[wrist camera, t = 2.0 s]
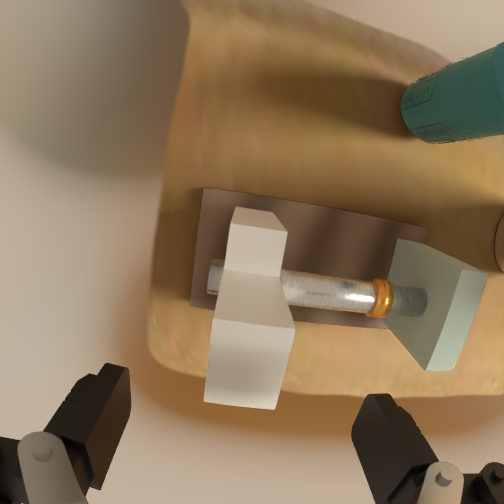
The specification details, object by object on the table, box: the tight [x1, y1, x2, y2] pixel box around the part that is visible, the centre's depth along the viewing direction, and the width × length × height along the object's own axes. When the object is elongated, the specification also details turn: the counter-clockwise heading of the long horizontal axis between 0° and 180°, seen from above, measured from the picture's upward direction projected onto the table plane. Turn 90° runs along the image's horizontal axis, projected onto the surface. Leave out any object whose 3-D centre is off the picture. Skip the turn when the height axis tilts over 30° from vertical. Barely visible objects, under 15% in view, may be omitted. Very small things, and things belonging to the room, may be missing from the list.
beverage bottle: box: [401, 42, 504, 144], centre depth 17 cm, size 6×7×20 cm
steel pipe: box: [207, 259, 428, 318], centre depth 22 cm, size 18×3×3 cm, turn 81°
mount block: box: [380, 238, 488, 371], centre depth 24 cm, size 3×8×10 cm, turn 171°
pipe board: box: [190, 187, 429, 329], centre depth 29 cm, size 22×11×2 cm, turn 81°
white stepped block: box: [204, 207, 296, 409], centre depth 19 cm, size 3×9×15 cm, turn 171°
